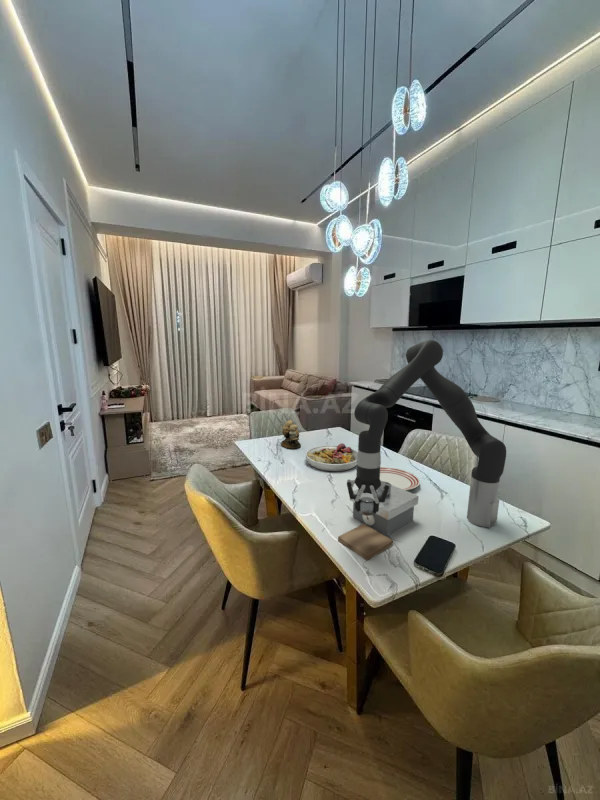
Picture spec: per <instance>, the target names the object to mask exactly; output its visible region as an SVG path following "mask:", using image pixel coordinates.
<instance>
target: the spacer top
mask: <svg viewBox="0 0 600 800" xmlns="http://www.w3.org/2000/svg"><path fill="white" fill-rule="evenodd" d="M359 501H360V502H359V512H360V513H361V514H363V515H366V516H370V515H373V514H374V505H375V500H374V499H372V498H370V497H362V498H360V499H359Z"/></svg>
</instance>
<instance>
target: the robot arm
mask: <svg viewBox="0 0 600 800" xmlns="http://www.w3.org/2000/svg"><path fill="white" fill-rule="evenodd" d="M443 355H444V350H443V346H442V345H441V343H439V342H438V341H436V340H434V339H428V340H423V341H421V342H418V343H417V344H414V345H412V346H410V347H409V348H407V350H406V353H405V358H406V362H407V364H406V365H405V366H403V367H402V368H401V369H400V370H398V371H396V372H395V373H394V374H393V375H391V376H390V377H389V378H388V379H387V380H386V381H385V382H384V383H383V384H382V385H381V386H380V387H379V388H378V390H376V391H375V392H372V393H370V394H369V395H367V396H366V397H365V398H363V399H362V400H360V401H359V402H358V403H357V405H356V406H355V409H354V412H353V414H354V418H355V420H356V421H357V422H359V423H361V424H365V425H368V427H369V428H368V430H362V431H360V433H359V435H358V443H357V444H358V446H357V452H358V454H357V465H356V472H355V473H356V474H355V475H356V477H355V479H352V480H351V479H347V481H346V486H347V491H348V492H347V493H348V495H349V500H350V499H354V500H355V509H356V510H357V512H359V502H360V501H359V499H360V497H361V495H362V493H369V494H372V495H373V497H374V500H375V505H374V513H376V512H378V511H379V503H380V502H385V499H386V496H387V493H388V490H389V484H388V483H382V482H381V481H380V467H381V465H382V459H381V458H382V456H381V445H382V437H383V434H384V430H385V429H386V425H387V422H388V419H389V418H388V416H389V415H388V410H387V408H392V407H393V406H395V405H396V404H397V403H398V401H399V400H400V399H401V398H402V397H403V395H404V394H406V393H407V391H409V389H410V388H411V387H412V386H413V385H414V384H415V383H416V382H417V381H419V379H421V381H422V382H423V383H424V385H426V387H427V388H428V390H429V391H430V392H431V394H433V395H432V396H434V397H435V399H436V400H437V402H438V403H439V405H440V406H441V408H442V409H443V411H444V412H445V414H446V415H447V416H448V417H449V419H450V420H451V422H453V423H454V425H455V426H456V427H457V428H458V429H459V430H460V432H461V434H462V435H463V437H464V439H465V441H466V443H467V444H468V446H469V448H470V450H471V451H472V453H473V454H474V455H475V456H476V457H477V458H478V461H477V466H474V467H472V469H471V474H470V484H469V485H470V486H469V495H468V503H467V512H466V519H467V520H468V522H470V523H471V524H473V525H476V526H479V527H484V528H488V529H492V527H493V526H495V525H496V524H497V522H498V514H499V506H500V499H499V498H498V497H499V488H500V480H501V477H502V475H503V473H504V471H505V465H506V458H507V447H506V444H505V443H504V442H503V441H502V440H500V439H498V438H496V437H494V436H493V435H492V434H490V433H489V432H488V431H487V429H485V427H484V426H483V425H482V424H481V422H480V421H479V419H478V415H477V413H476V409H475V406H474V404H473V402H472V400H471V399H470V398H469V396H468V394H467V393H466V392H465V390H464V389H463V388H462V387H461V386H460V385H458V384H456V383H455V382H453V381H451V380H450V379H448V378H446V377H445V376H444V375H442V374H441V373H440V372H439V371H438V370H437V369H436V368H435V366H437V365H438V364H439V363H440V362H441V361H442V359H443V357H444V356H443ZM355 485H356V487H357V489H358V491H357V494H356V495H355V494H354V493H353V491H354V489H353V487H354V486H355ZM380 486H381V487H382V490H383V492H382V495H381V497H378V494H377V491H376V490H377V489H378V488H379V487H380Z"/></svg>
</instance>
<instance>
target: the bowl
mask: <svg viewBox="0 0 600 800" xmlns="http://www.w3.org/2000/svg"><path fill="white" fill-rule="evenodd" d="M357 454H358V450H355V449H353V448H352V447H351V446H346V444H345V443H343V442H342V443H339V444H338V445H320V446H316V447H312V448H310V449H308V450H307V451H306V452H305V459H306V461H307V463H308V464H309V465H310V466H311V467H314V468H316V469H318V470H321V471H327V472H342V471H347V470H351V469H353V468H355V467H357Z"/></svg>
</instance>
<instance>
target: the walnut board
mask: <svg viewBox="0 0 600 800" xmlns="http://www.w3.org/2000/svg"><path fill="white" fill-rule="evenodd" d="M337 538H338V539H337V540H338V542H340V543H341V544H343V546H346V547H347V548H348V549H349V550H351V551H353V552H354V553H355V554H357V555H358V556H360V557H362V558H363V559H364V560H366V561H369V560H370V559H372V558H374V557H376V556H377V555H379V554H380V553H382V552H384V551H385V550H387V549H388V548H390V547H391V546H393V545H394V540H393V539H392V538H390V537H388V536H387V535H385V534H383V533H381V532H379V531H378V530H376V529H374V528H372V527H371V526H369V525H367V524H365V523H362V524H360V525H358V526H357V527H355V528H354V527H353V529H351V530H348V531H346V532H345V533H343V534H341V535H339V536H338V537H337Z"/></svg>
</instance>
